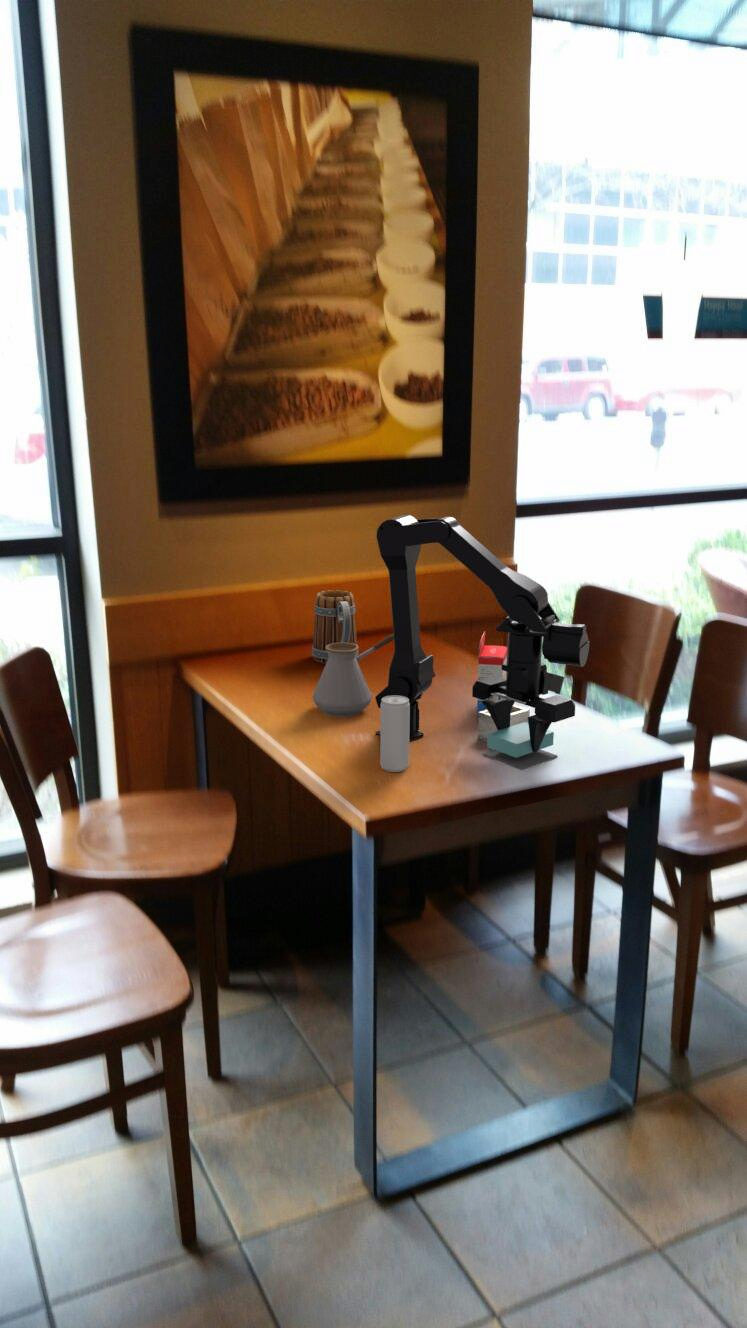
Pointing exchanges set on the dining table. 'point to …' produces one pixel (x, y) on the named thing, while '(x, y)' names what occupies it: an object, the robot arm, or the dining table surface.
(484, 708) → the ink box
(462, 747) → the dining table surface
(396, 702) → the beverage can
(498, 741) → the lid
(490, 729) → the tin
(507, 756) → the coaster
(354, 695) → the coffee pot
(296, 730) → the dining table surface
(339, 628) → the mug
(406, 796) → the dining table surface
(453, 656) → the dining table surface
